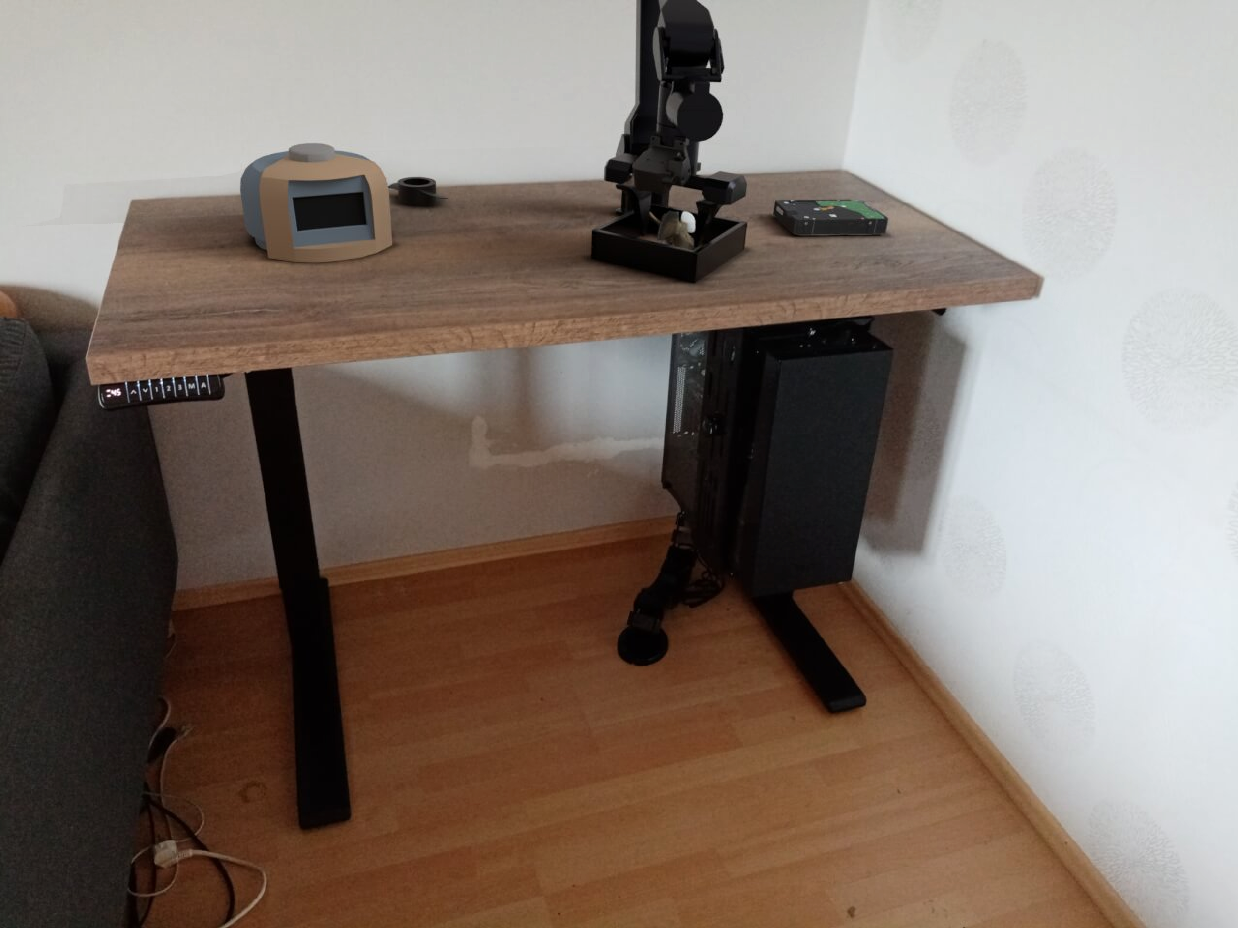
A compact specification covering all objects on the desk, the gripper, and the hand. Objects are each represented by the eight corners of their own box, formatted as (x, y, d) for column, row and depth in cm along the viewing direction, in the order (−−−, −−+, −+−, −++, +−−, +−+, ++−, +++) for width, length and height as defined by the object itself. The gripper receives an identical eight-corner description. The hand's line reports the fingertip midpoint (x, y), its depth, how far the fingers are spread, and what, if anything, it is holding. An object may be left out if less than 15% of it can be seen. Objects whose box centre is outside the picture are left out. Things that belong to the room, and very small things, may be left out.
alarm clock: (262, 269, 122) (248, 172, 116) (235, 223, 137) (222, 135, 131) (411, 252, 130) (405, 160, 124) (370, 211, 145) (363, 127, 139)
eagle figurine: (632, 236, 137) (644, 245, 129) (660, 193, 136) (675, 199, 127) (675, 266, 140) (690, 276, 131) (704, 223, 138) (720, 231, 130)
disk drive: (794, 238, 145) (887, 235, 147) (796, 219, 143) (890, 217, 146) (771, 217, 153) (859, 215, 156) (773, 199, 152) (862, 197, 155)
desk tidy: (590, 259, 132) (591, 230, 130) (646, 229, 144) (648, 202, 142) (695, 283, 126) (697, 253, 124) (744, 249, 138) (747, 222, 136)
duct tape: (434, 190, 156) (433, 172, 155) (450, 208, 149) (450, 189, 147) (385, 193, 154) (384, 175, 152) (400, 211, 146) (399, 192, 144)
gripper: (585, 122, 124) (581, 242, 132) (720, 146, 116) (707, 271, 124) (627, 109, 132) (620, 223, 140) (755, 131, 125) (740, 249, 133)
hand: (669, 241), depth 134 cm, fingers closed on eagle figurine, 8 cm apart
